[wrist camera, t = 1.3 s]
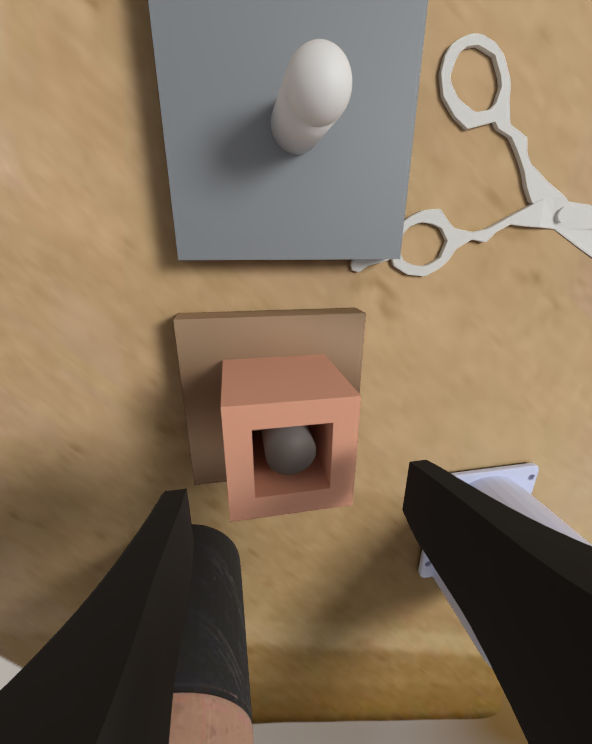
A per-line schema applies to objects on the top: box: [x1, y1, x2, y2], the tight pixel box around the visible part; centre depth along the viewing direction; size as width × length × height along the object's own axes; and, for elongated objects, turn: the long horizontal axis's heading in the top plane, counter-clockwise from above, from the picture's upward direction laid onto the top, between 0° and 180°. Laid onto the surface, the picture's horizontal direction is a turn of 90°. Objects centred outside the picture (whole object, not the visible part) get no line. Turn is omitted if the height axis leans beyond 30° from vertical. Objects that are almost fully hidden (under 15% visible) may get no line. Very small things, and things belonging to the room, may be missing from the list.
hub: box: [148, 0, 428, 260], centre depth 12 cm, size 10×10×6 cm
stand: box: [173, 308, 366, 485], centre depth 16 cm, size 9×9×6 cm
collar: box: [221, 354, 361, 522], centre depth 15 cm, size 5×5×5 cm
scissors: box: [350, 33, 592, 276], centre depth 18 cm, size 11×1×20 cm
